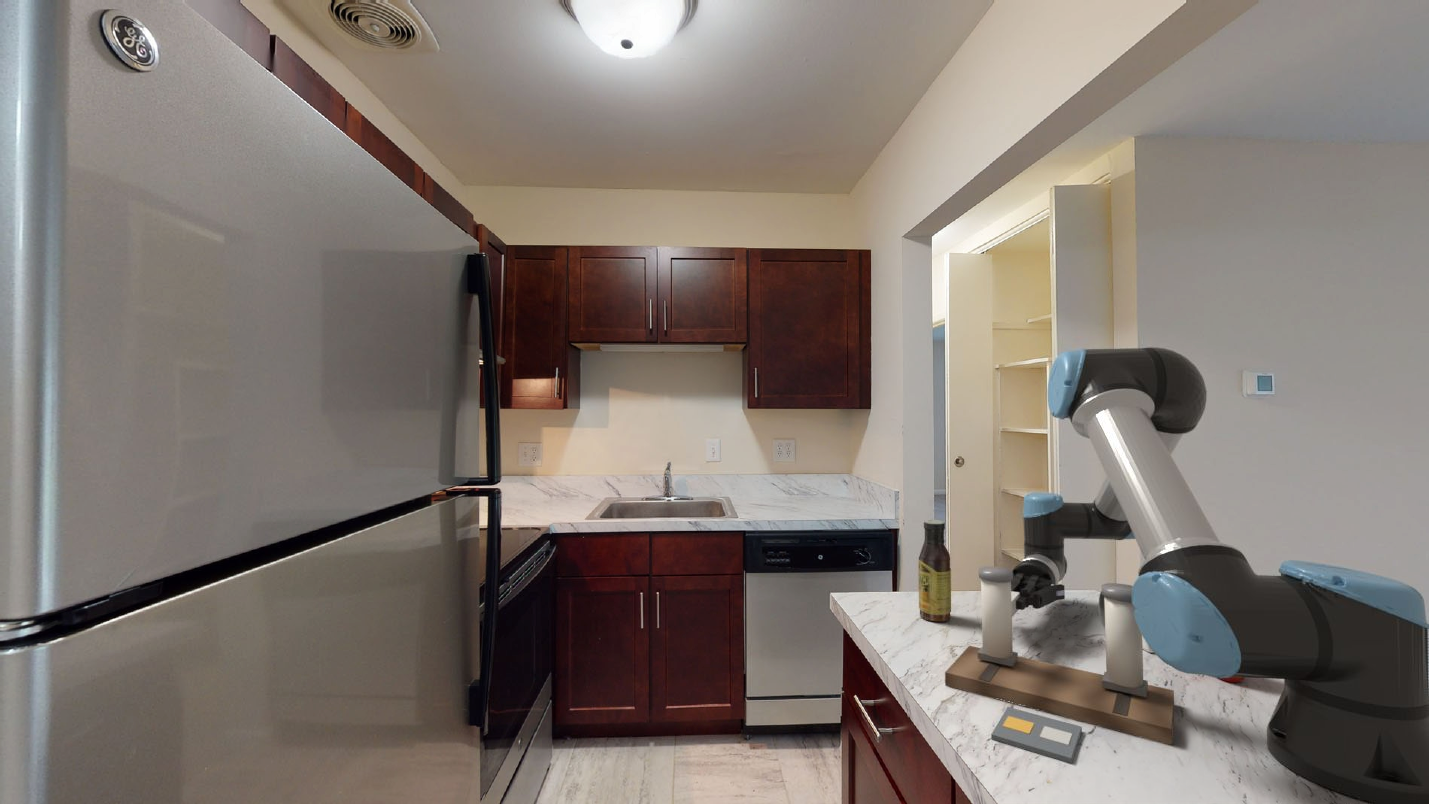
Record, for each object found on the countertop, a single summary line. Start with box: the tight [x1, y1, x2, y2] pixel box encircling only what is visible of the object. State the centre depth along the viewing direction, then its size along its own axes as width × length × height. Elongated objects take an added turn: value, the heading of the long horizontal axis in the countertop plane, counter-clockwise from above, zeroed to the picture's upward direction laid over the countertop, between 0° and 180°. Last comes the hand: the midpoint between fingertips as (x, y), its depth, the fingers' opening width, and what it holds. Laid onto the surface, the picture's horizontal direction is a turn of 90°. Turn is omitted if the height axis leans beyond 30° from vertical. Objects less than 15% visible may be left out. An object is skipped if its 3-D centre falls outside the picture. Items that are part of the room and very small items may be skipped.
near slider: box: [1101, 582, 1149, 697], centre depth 86 cm, size 5×5×14 cm
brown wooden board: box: [944, 645, 1175, 746], centre depth 90 cm, size 28×13×2 cm, turn 52°
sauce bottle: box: [917, 519, 952, 623], centre depth 123 cm, size 6×6×20 cm
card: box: [990, 706, 1083, 764], centre depth 79 cm, size 9×9×1 cm
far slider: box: [978, 565, 1019, 667], centre depth 97 cm, size 5×5×14 cm
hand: (1006, 609), depth 103 cm, fingers closed
